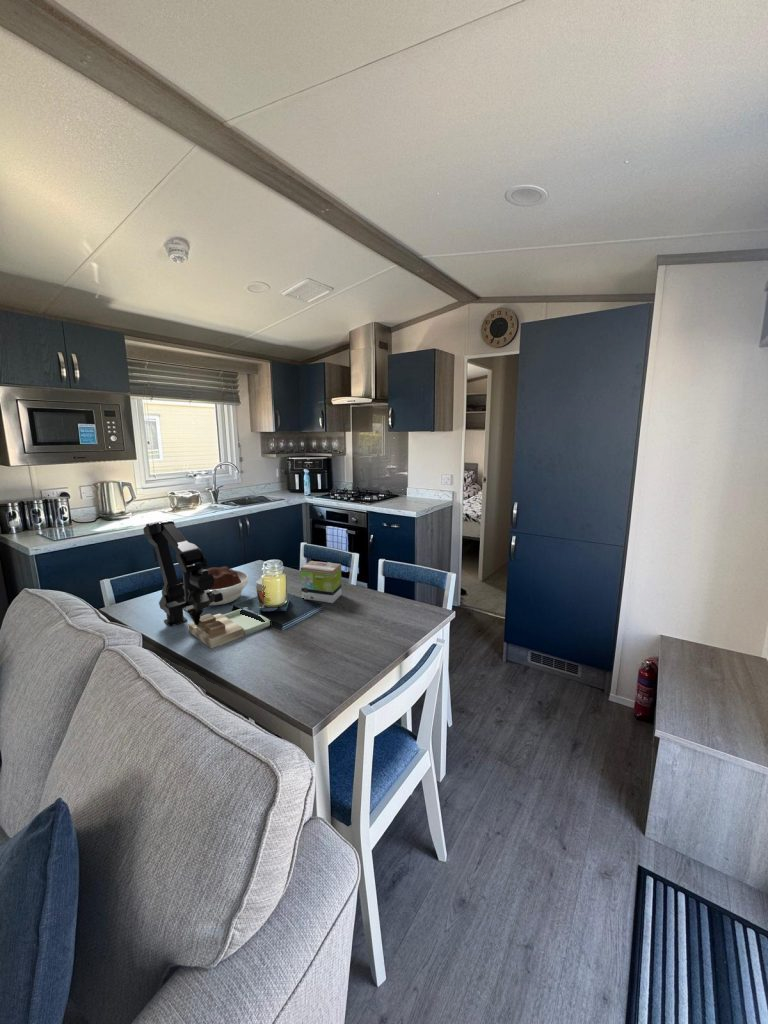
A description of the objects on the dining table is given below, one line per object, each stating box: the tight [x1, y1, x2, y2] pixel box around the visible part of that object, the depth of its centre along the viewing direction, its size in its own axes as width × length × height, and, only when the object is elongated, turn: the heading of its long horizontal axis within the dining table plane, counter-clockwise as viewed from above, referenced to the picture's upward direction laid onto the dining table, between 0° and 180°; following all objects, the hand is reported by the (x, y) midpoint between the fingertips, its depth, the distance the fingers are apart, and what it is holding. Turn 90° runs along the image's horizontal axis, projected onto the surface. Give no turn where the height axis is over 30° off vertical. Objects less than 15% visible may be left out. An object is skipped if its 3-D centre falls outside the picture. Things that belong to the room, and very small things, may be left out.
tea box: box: [300, 560, 342, 604], centre depth 185 cm, size 15×10×15 cm, turn 73°
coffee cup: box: [255, 577, 266, 607], centre depth 174 cm, size 9×9×12 cm
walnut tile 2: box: [205, 620, 226, 636], centre depth 149 cm, size 5×5×2 cm
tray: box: [222, 606, 272, 637], centre depth 162 cm, size 18×11×2 cm, turn 47°
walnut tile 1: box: [198, 613, 216, 628], centre depth 155 cm, size 5×5×2 cm
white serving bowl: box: [204, 566, 249, 606], centre depth 182 cm, size 25×25×15 cm
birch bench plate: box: [187, 613, 245, 649], centre depth 154 cm, size 18×12×3 cm, turn 47°
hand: (196, 624), depth 153 cm, fingers closed
